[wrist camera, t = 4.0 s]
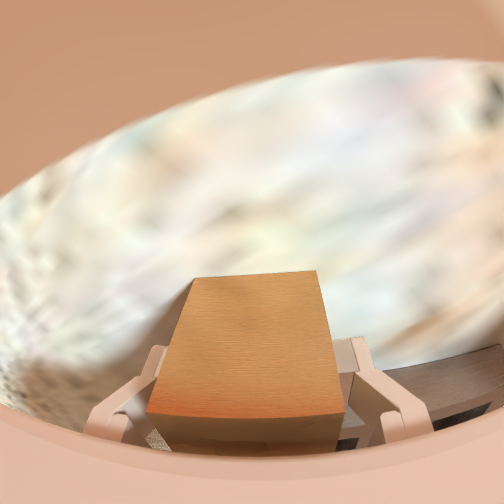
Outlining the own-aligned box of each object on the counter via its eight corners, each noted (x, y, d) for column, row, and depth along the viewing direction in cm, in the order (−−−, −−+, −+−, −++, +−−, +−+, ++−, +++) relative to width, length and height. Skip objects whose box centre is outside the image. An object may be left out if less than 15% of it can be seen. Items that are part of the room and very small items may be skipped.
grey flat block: (500, 343, 13) (522, 378, 10) (457, 417, 16) (468, 448, 14) (207, 382, 14) (197, 432, 12) (231, 449, 18) (227, 485, 15)
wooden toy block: (315, 270, 11) (344, 411, 6) (313, 355, 13) (326, 478, 8) (194, 278, 11) (145, 411, 6) (215, 359, 13) (193, 477, 8)
